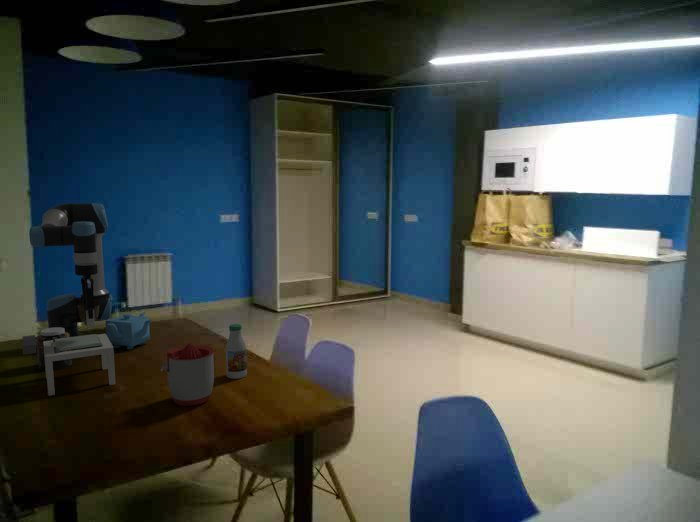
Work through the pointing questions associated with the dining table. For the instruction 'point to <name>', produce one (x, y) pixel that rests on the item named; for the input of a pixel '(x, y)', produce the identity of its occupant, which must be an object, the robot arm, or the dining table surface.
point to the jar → (48, 336)
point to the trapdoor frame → (104, 351)
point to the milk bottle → (236, 353)
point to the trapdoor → (62, 343)
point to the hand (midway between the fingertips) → (89, 324)
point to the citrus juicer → (190, 374)
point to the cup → (83, 313)
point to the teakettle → (128, 330)
